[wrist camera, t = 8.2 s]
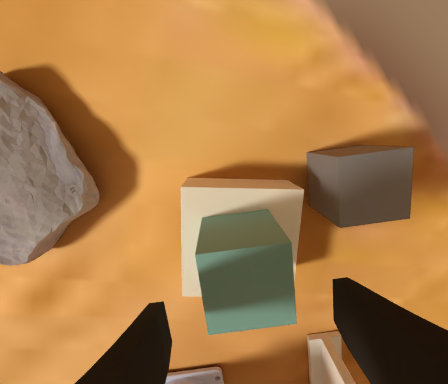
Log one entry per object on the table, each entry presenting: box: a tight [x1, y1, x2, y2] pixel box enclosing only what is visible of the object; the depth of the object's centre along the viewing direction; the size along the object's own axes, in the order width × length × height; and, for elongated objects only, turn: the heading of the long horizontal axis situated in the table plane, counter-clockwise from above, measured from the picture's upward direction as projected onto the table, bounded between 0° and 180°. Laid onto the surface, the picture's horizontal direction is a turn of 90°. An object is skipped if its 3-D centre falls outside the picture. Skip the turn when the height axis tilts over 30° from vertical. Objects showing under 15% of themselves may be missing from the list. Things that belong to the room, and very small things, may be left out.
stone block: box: [0, 71, 100, 266], centre depth 17 cm, size 12×5×10 cm
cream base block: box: [181, 178, 304, 296], centre depth 18 cm, size 8×8×4 cm
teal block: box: [195, 209, 297, 335], centre depth 13 cm, size 4×4×5 cm
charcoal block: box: [307, 145, 414, 228], centre depth 16 cm, size 4×4×5 cm
